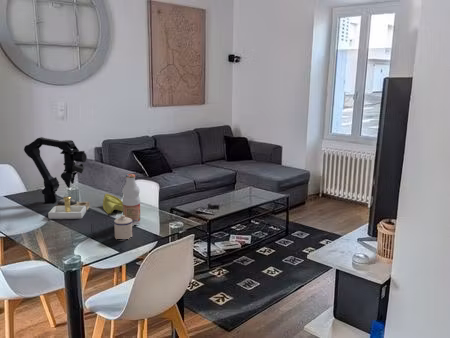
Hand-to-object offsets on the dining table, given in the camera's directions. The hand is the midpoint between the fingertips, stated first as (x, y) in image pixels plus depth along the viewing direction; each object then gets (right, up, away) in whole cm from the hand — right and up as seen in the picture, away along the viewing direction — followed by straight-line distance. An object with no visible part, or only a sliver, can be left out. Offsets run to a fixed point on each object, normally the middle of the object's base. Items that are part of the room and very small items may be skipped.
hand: (70, 185), depth 252 cm
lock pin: (+5, -16, -17) cm, 24 cm away
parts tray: (+5, -17, -17) cm, 24 cm away
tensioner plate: (+4, -14, -6) cm, 15 cm away
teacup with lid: (+43, -24, -45) cm, 67 cm away
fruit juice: (+44, -20, -27) cm, 56 cm away
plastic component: (+28, -14, -3) cm, 32 cm away
